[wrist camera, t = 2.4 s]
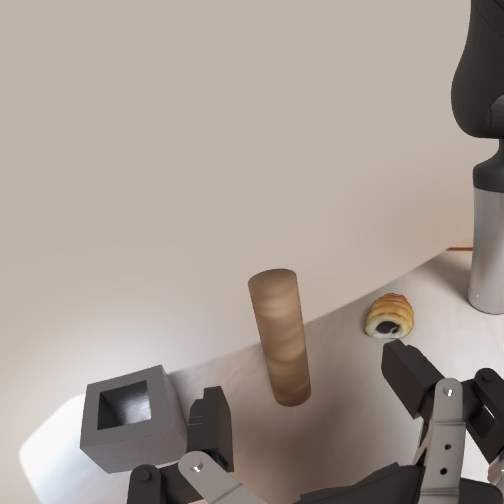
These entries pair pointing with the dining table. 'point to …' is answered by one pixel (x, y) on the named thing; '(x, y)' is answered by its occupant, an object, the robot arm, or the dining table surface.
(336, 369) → the dining table surface
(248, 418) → the dining table surface
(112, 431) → the socket block
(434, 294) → the dining table surface
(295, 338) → the peg
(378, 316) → the pastry
